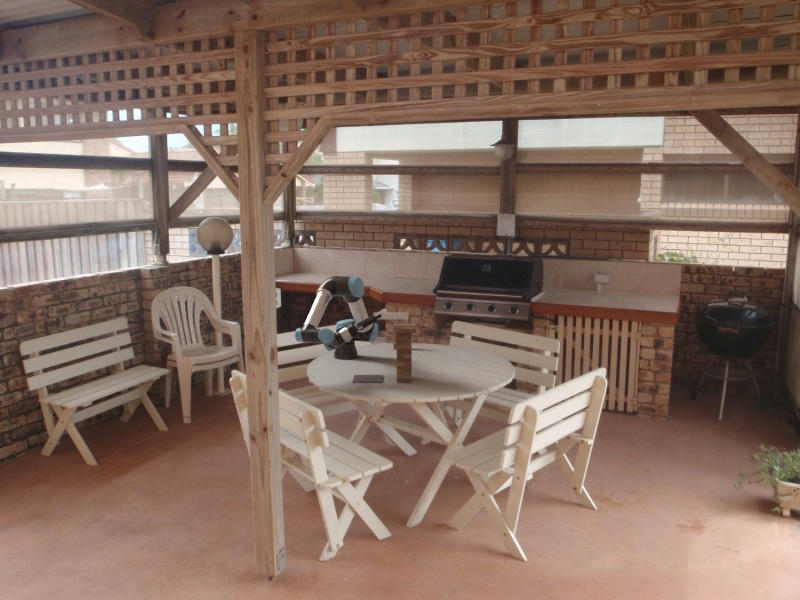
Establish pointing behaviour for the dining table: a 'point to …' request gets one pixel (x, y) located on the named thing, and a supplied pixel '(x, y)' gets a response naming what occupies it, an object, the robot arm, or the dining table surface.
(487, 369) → the dining table surface
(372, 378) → the rubber mat
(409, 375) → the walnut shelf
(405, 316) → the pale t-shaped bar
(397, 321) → the wooden block
